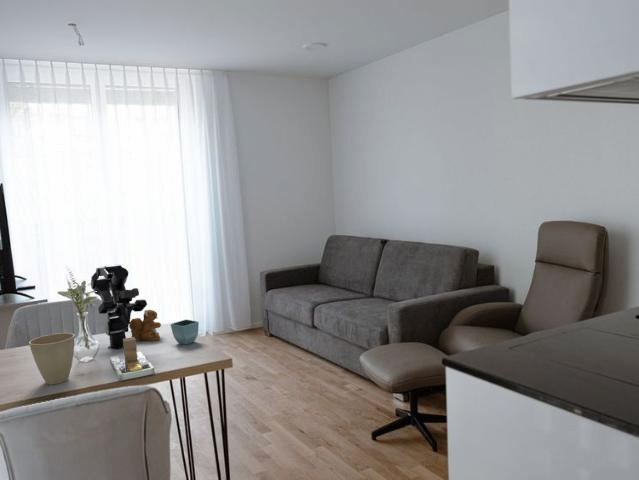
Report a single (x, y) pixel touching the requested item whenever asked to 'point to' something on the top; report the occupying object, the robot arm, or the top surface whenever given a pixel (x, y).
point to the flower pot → (185, 331)
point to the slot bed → (121, 362)
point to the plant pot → (54, 356)
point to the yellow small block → (134, 367)
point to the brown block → (130, 352)
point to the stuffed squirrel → (145, 327)
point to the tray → (135, 372)
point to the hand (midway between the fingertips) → (128, 324)
